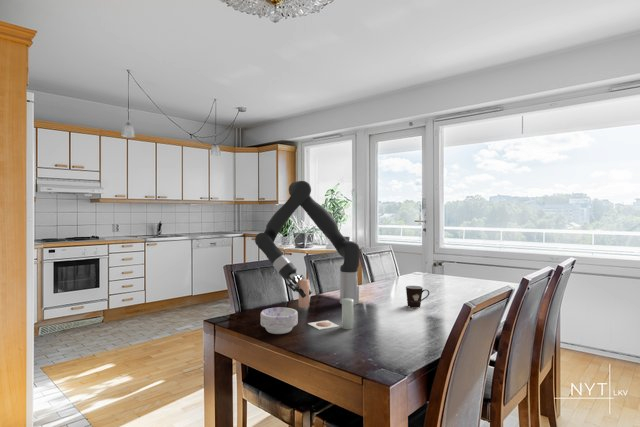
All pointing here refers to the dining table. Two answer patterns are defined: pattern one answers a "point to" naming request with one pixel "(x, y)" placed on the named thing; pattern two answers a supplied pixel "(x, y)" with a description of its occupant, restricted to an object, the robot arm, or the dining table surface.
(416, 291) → the coffee mug
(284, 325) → the paper bowls
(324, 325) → the card
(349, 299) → the grey-green tube
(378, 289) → the dining table surface
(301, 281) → the terracotta tube
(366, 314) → the dining table surface
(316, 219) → the robot arm
